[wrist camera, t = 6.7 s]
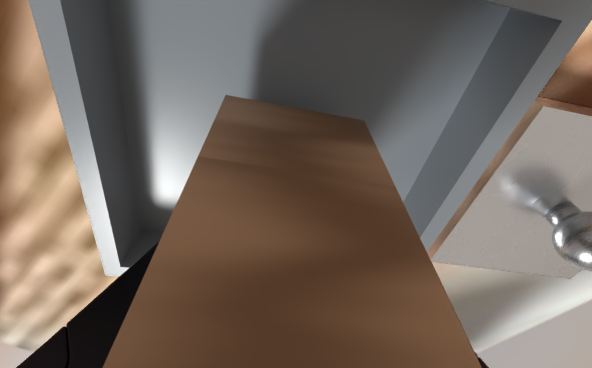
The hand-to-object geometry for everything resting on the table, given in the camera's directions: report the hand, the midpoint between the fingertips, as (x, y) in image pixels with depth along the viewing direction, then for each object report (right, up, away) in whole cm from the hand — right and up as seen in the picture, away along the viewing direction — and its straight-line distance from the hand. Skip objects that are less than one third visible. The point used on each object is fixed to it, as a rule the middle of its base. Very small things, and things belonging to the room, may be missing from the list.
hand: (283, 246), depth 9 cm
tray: (0, +4, +6) cm, 7 cm away
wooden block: (0, +3, +3) cm, 4 cm away
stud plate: (+14, +1, +8) cm, 17 cm away
